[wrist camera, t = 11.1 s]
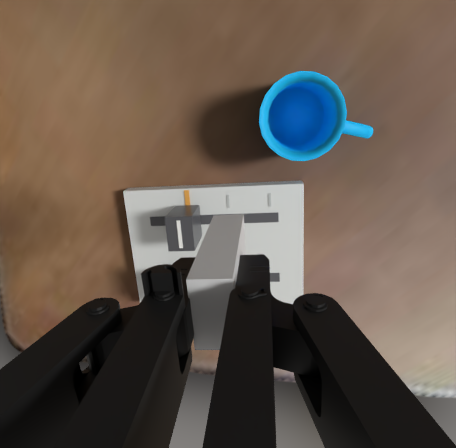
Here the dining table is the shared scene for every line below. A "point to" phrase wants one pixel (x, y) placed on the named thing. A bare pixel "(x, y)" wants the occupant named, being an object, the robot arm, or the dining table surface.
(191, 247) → the fader
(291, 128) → the mug
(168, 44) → the dining table surface
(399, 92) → the dining table surface
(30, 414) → the robot arm
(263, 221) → the console
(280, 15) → the dining table surface
